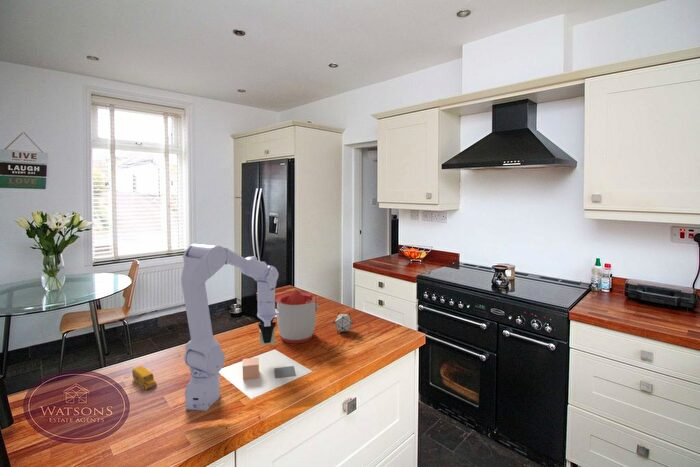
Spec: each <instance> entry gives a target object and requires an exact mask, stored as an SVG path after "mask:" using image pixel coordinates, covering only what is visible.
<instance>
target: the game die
mask: <svg viewBox="0 0 700 467" xmlns="http://www.w3.org/2000/svg"><path fill="white" fill-rule="evenodd" d="M332 323H333V324H334V325H335V327H336V329H337V331H336V334H338V333H339V332H344V333H345V332H347V333H348V334H350V329H351V327H352V325H354V324H355V322H353V321H352V318H351V312H349V313H339V312H337V317H336V318H335V320H334V321H332Z"/></svg>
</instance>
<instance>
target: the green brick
mask: <svg viewBox="0 0 700 467" xmlns="http://www.w3.org/2000/svg"><path fill="white" fill-rule="evenodd" d="M275 332H276V331H275V328H274V329H273V332H272V338H271V342H270V343H264V341H263V336H262V332H261V330H260V329H259V346H265V345H274V344H275V343H276V341H275V339H276V338H275V337H276V336H275V335H276V333H275Z"/></svg>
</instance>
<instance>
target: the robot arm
mask: <svg viewBox="0 0 700 467" xmlns="http://www.w3.org/2000/svg"><path fill="white" fill-rule="evenodd" d="M182 257H183V258H182V259H183V268H182V269H183V270H182V273H181V279H180V281H181V288H182V294H183V300H184V304H185V312H186V316H187V318H186V319H187V324H188V330H189V337H190V340H189V341H188V342H187V343H186V344H185V353H184V354H185V355H184V364H185V365H186V366H187V367H189V368H188V369H189V371H190V379H189V382H188V383H187V385H186V386H185V389H184V403H185V410H190V411H192V410H194V411H208V410H209V408H210V407H211V406H212V405H213V404H214V403H216V402H217V401H218V400H219V399H220V397H221V386H220V385H221V384H220V373H219V371H221V368H224V365H225V362H226V356H225V353H224V352H223V350H222V348H221V344H220V343H219V342H218V340H217V339H216V338H215V337H214V335H213V327H212V320H211V315H210V308H209V301H208V296H207V295H208V293H207V288H206V287H207V286H206V282H207V281H208V280H209V279H211V278H212V277H213V276H215V274H217V272H219V271H220V270H221V269H222V268H223V267H224V266H225V265H226V266H227V265H230V266H234V267H236V268H239V270H240V272H241V274H243V275H245V276H248V277H250V278H252V279H253V280H254V281H255V282H256V285H257V286H256V288H257V290H256V291H257V292H256V293H257V294H256V295H257V298H256V299H257V313H256V316H257V319H258V321H259V322H258V323H257V325H258V326H257V327H258V328H259V331H260V330H261V332H262V336H263V341H264V343H270V342H271V338H272V332H273V329H274V330H275V327H276V324H277V323H276V322H277V321H274V319H275V316H277V315H279V312H278V311H277V310H276V287H277V281H278V279H279V275H280V274H279V272H278V269H277V268H276V267H275V265H274V266H273V265H269V264H267V262H266V261H261V260H258V257H256V256H255V255H254V256H253V255H251V256H247V257H243V256H241V255H240V254H238V253H236V252H234V251H233V250H231V249H229V248H228V247H223V246H222V245H213V244H202V243H199V242H195V243H192V244H190V245H189V246H188V247H187V249H186V250H185V251H184V253H183V254H182ZM273 321H274V322H273Z"/></svg>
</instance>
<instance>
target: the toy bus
mask: <svg viewBox="0 0 700 467" xmlns="http://www.w3.org/2000/svg"><path fill="white" fill-rule="evenodd" d="M131 373H132V378H133V380H134V381H135V383H136V384H138V385H139V386H141V388H142V389H143V390H145V391H149V390H150V389H153V388H155V387H157V381H156V380H155V379H154V374H153V373H152V372H151V371H150V370H149V369H147V368H145V367H144V366H142V365H139V366H136V367H134V368H133V369H132V372H131Z"/></svg>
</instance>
